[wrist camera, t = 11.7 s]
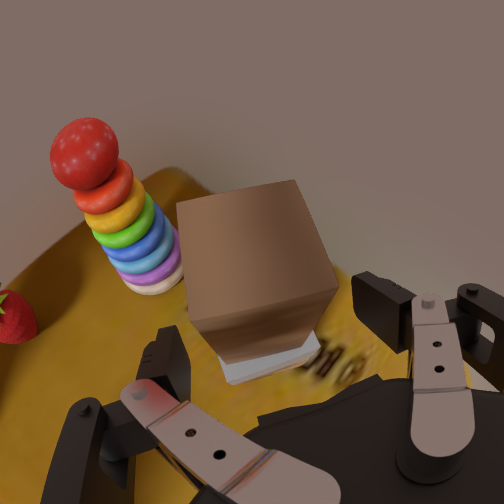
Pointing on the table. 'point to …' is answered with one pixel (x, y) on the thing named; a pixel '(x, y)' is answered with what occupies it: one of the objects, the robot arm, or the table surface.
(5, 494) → the table surface
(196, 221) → the walnut pillar
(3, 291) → the strawberry
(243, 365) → the grey block
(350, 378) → the table surface
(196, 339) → the table surface
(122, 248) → the stacking toy
